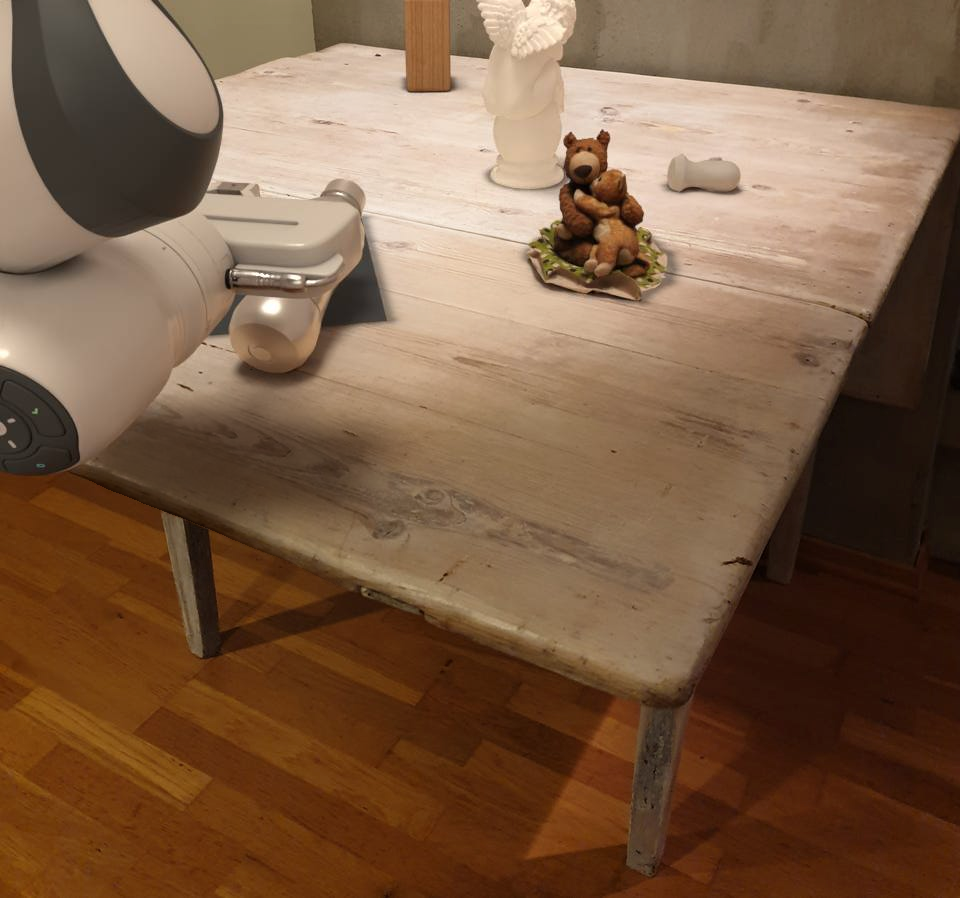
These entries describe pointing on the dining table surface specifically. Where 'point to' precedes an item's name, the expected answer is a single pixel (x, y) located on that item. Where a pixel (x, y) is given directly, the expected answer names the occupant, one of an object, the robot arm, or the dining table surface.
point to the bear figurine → (597, 229)
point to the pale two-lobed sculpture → (703, 174)
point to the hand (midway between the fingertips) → (240, 193)
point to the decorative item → (427, 45)
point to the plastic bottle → (287, 311)
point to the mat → (340, 298)
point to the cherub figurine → (526, 87)
